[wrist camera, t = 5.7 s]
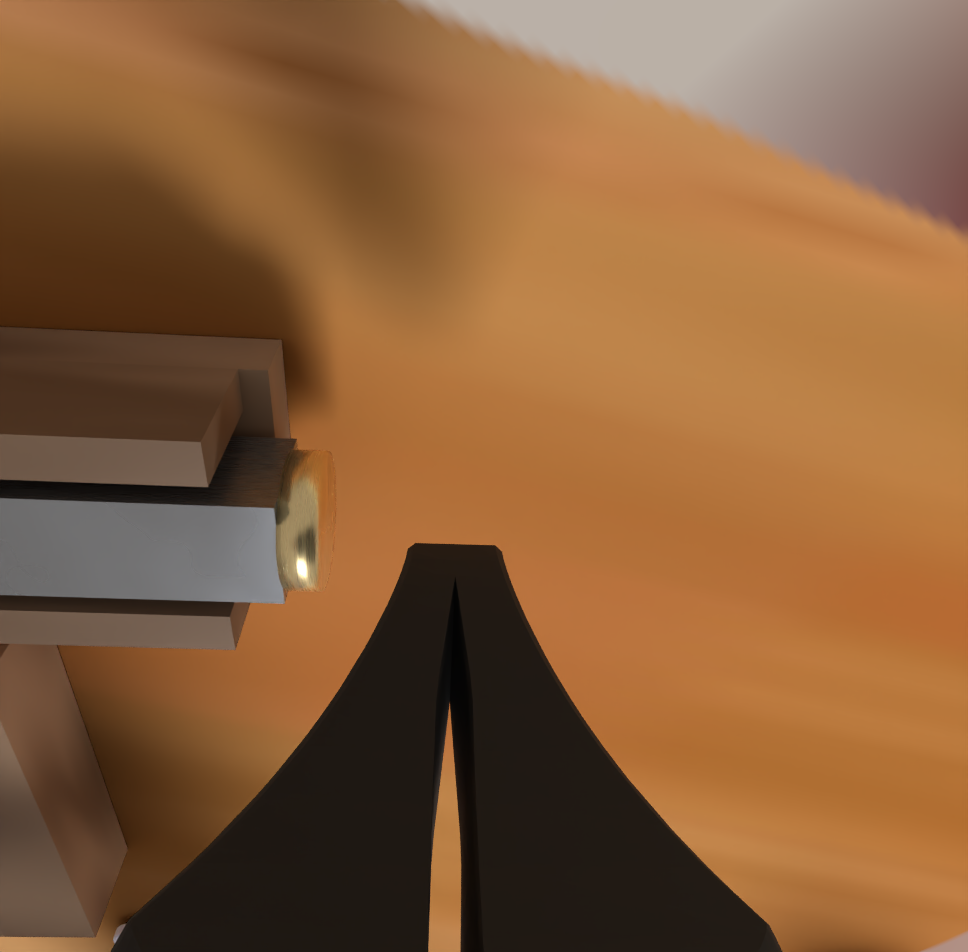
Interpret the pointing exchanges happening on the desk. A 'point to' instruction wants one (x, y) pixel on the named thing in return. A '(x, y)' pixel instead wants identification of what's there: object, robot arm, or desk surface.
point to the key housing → (130, 453)
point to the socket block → (51, 804)
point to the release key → (177, 532)
